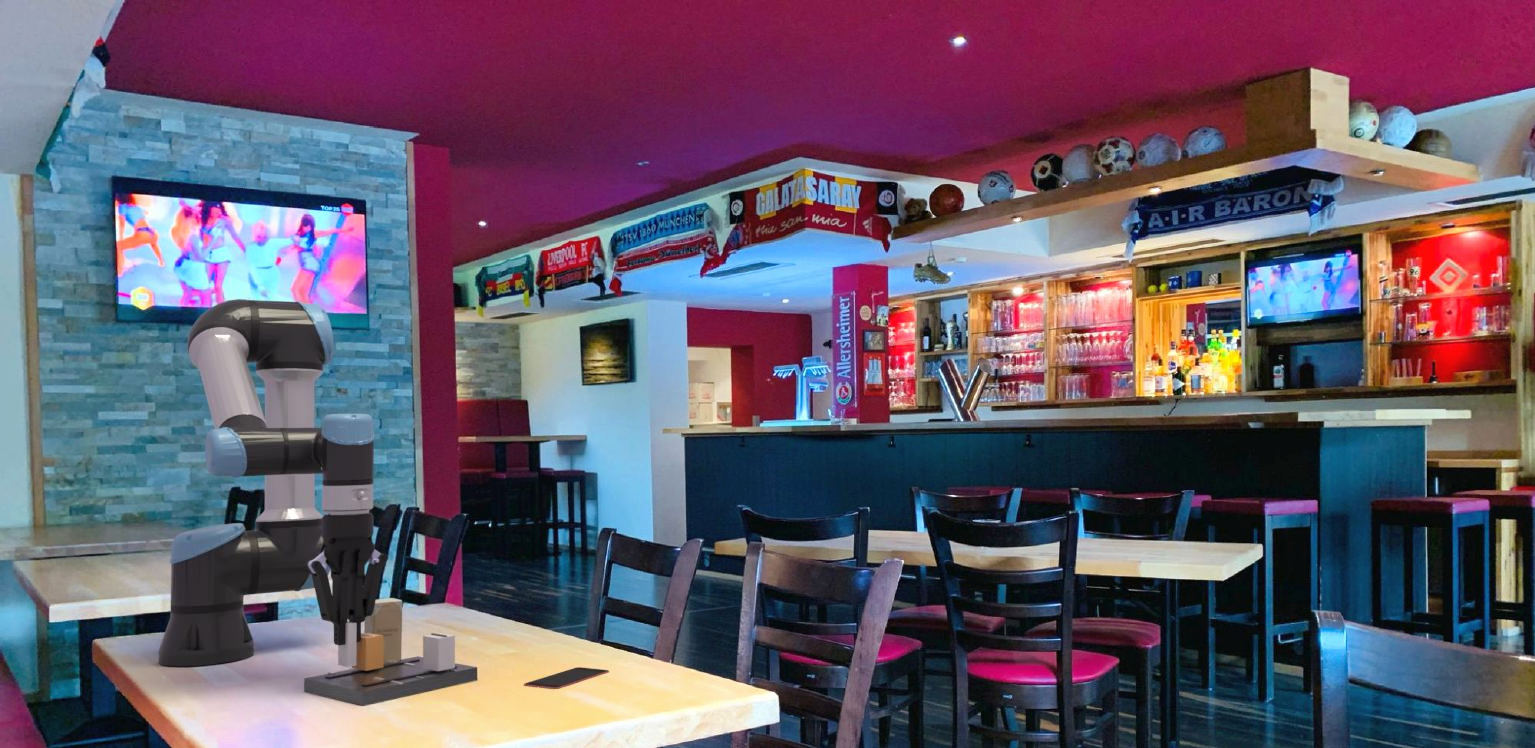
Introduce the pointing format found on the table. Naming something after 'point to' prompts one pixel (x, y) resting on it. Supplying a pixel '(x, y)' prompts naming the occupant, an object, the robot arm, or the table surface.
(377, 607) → the box
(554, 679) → the smartphone
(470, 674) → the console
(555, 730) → the table surface
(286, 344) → the robot arm
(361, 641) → the fader orange
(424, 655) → the fader grey
